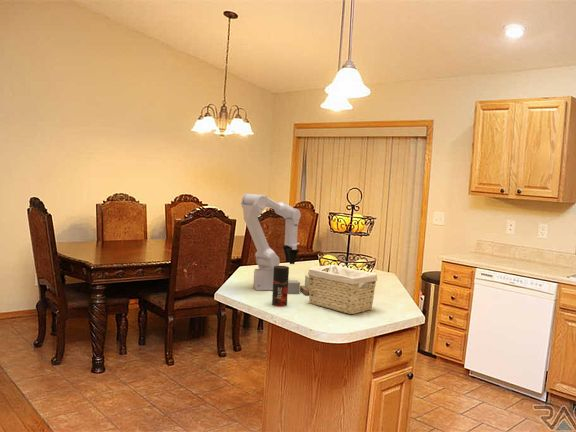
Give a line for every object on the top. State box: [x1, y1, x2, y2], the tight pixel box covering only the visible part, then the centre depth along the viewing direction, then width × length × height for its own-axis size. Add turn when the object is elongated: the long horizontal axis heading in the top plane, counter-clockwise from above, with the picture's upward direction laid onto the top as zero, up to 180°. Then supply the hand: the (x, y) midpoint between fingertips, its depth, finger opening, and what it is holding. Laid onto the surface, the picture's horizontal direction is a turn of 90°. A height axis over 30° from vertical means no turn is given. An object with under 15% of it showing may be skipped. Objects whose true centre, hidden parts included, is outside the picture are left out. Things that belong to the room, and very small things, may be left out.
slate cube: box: [288, 279, 301, 295], centre depth 213 cm, size 5×5×5 cm
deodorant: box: [271, 265, 290, 308], centre depth 192 cm, size 6×6×15 cm
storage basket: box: [307, 263, 378, 315], centre depth 194 cm, size 24×16×15 cm
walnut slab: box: [300, 285, 310, 297], centre depth 214 cm, size 8×8×3 cm
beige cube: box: [304, 274, 309, 289], centre depth 214 cm, size 5×5×5 cm
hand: (290, 262), depth 229 cm, fingers open, 7 cm apart
